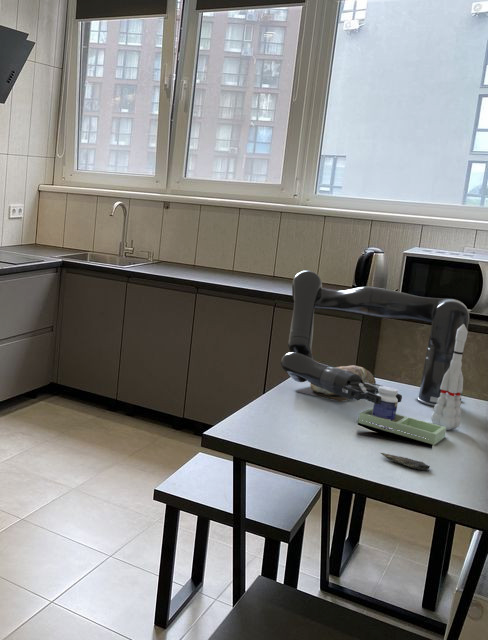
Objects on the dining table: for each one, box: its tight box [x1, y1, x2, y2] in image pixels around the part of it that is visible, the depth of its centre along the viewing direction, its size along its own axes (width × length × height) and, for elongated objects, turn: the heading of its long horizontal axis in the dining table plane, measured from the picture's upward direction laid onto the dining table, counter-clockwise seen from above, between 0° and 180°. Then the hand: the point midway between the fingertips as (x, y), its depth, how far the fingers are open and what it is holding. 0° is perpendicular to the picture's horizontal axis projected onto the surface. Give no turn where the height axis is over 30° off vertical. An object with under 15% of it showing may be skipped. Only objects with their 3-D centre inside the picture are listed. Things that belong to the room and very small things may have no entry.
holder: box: [357, 406, 447, 446], centre depth 203 cm, size 10×19×3 cm, turn 45°
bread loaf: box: [297, 364, 377, 403], centre depth 239 cm, size 35×18×9 cm, turn 136°
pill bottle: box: [372, 385, 399, 421], centre depth 206 cm, size 6×6×10 cm
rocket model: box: [430, 324, 469, 431], centre depth 207 cm, size 7×7×30 cm
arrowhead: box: [380, 452, 431, 471], centre depth 176 cm, size 7×10×1 cm
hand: (390, 399), depth 205 cm, fingers open, 8 cm apart
